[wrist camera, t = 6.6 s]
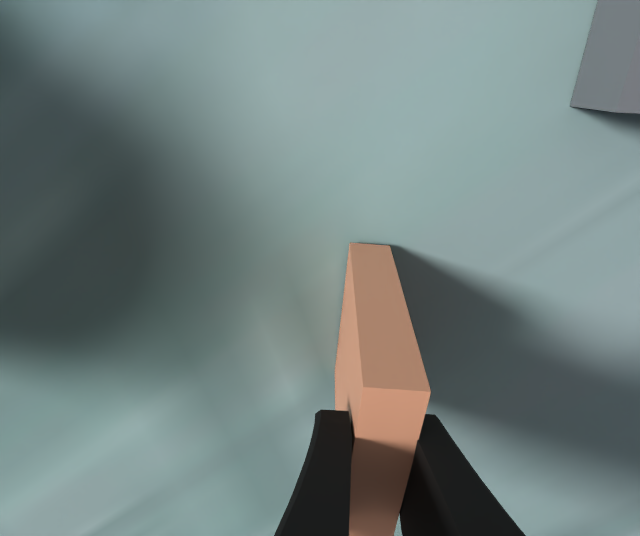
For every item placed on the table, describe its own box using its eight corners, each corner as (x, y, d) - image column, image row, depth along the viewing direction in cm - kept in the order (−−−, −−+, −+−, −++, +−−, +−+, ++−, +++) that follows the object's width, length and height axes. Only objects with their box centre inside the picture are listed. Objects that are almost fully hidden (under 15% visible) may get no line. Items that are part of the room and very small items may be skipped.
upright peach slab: (389, 245, 13) (430, 392, 8) (368, 373, 15) (388, 552, 10) (349, 242, 13) (362, 387, 8) (335, 370, 15) (337, 549, 10)
